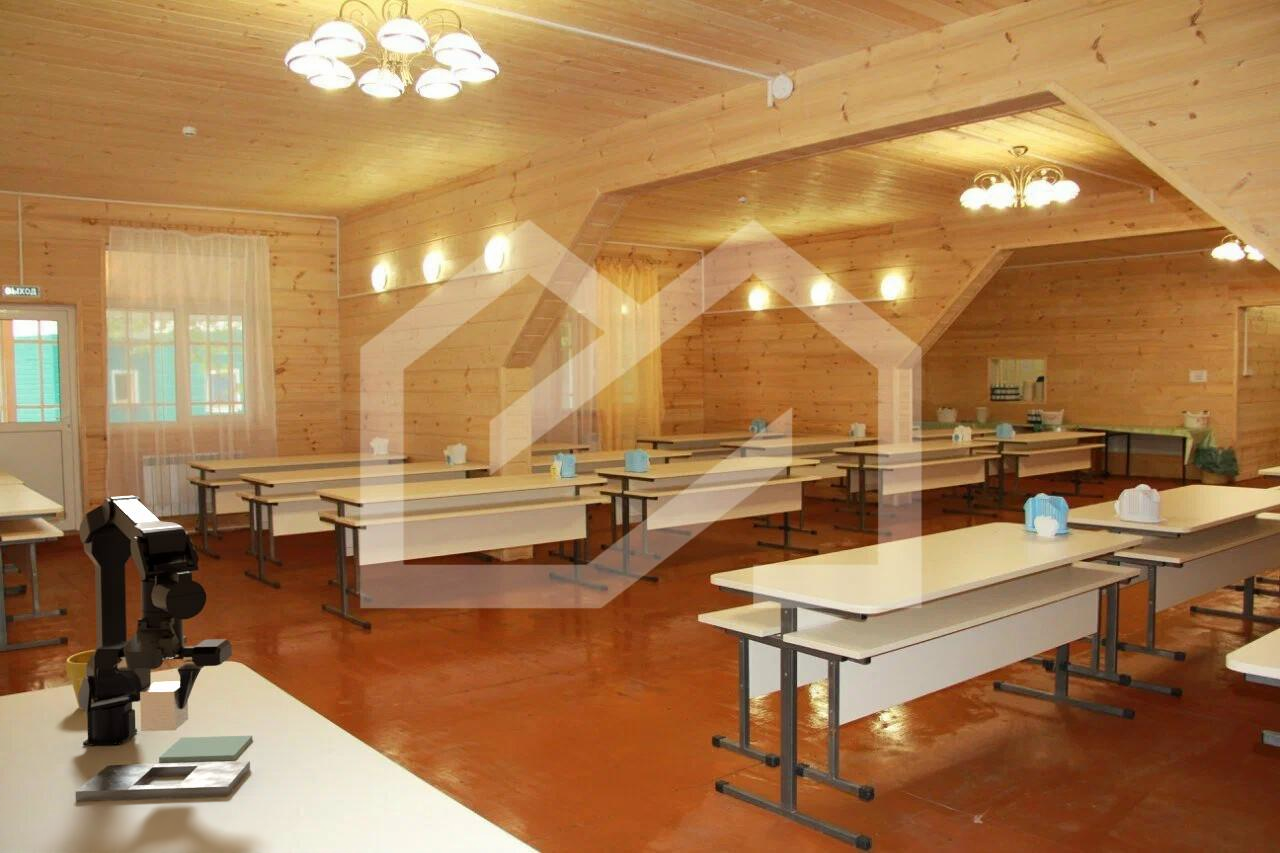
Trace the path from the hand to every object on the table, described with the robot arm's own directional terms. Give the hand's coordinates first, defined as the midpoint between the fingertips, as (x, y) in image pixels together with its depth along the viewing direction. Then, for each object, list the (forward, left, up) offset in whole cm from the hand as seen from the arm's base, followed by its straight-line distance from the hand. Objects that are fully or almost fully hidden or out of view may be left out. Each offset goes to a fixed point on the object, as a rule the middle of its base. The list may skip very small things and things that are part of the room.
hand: (164, 708), depth 148 cm
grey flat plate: (0, 0, -12) cm, 12 cm away
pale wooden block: (0, 0, -2) cm, 2 cm away
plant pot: (-29, +40, -12) cm, 51 cm away
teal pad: (+1, +14, -12) cm, 18 cm away
